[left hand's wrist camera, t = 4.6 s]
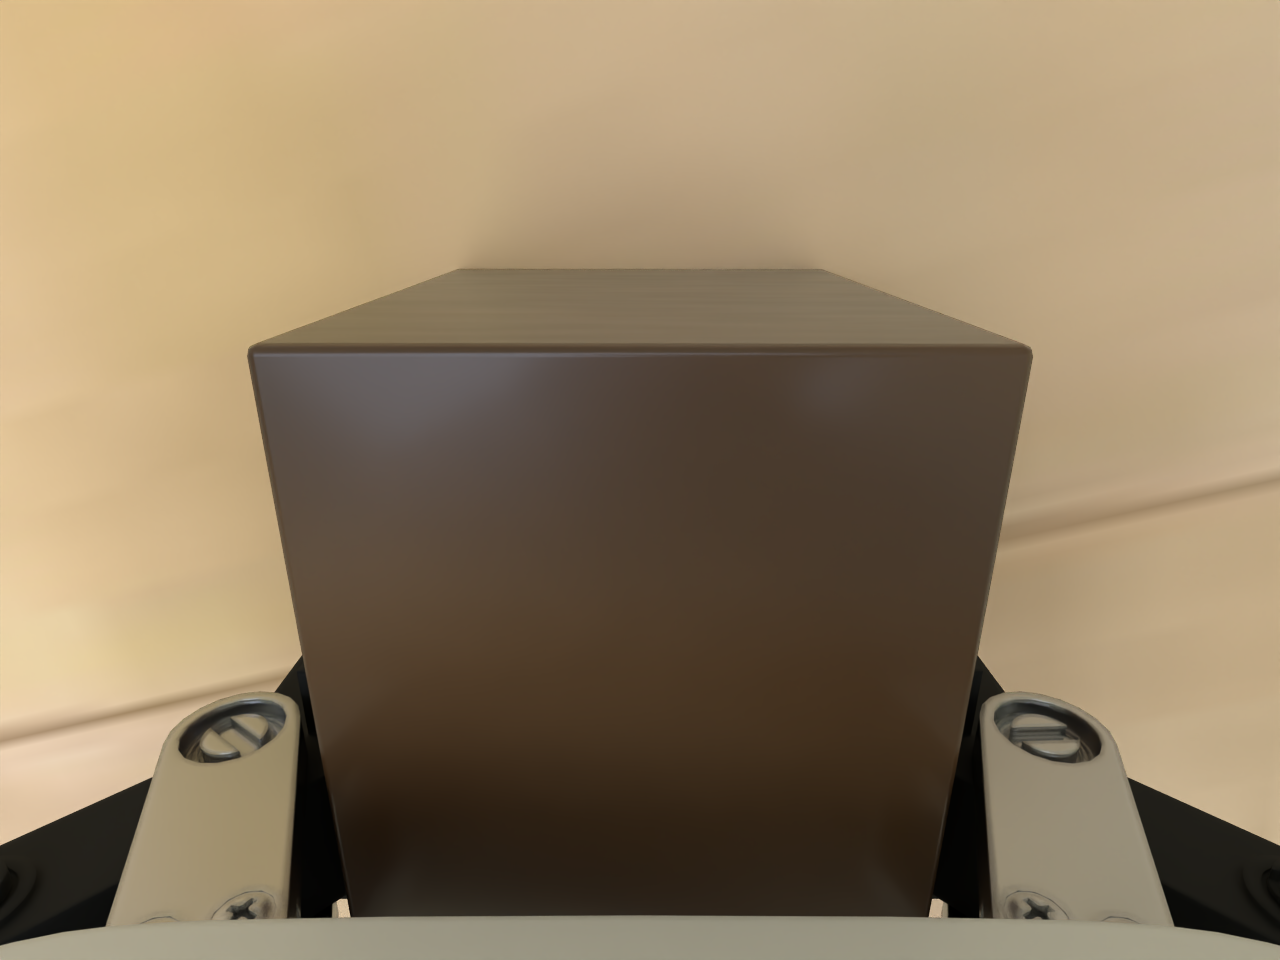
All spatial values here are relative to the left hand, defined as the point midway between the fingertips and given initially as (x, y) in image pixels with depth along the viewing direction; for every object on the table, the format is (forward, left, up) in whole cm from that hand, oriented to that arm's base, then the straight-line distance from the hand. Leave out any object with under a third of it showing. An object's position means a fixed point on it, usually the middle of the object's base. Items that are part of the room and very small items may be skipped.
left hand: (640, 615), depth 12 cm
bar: (+20, +4, -2) cm, 20 cm away
